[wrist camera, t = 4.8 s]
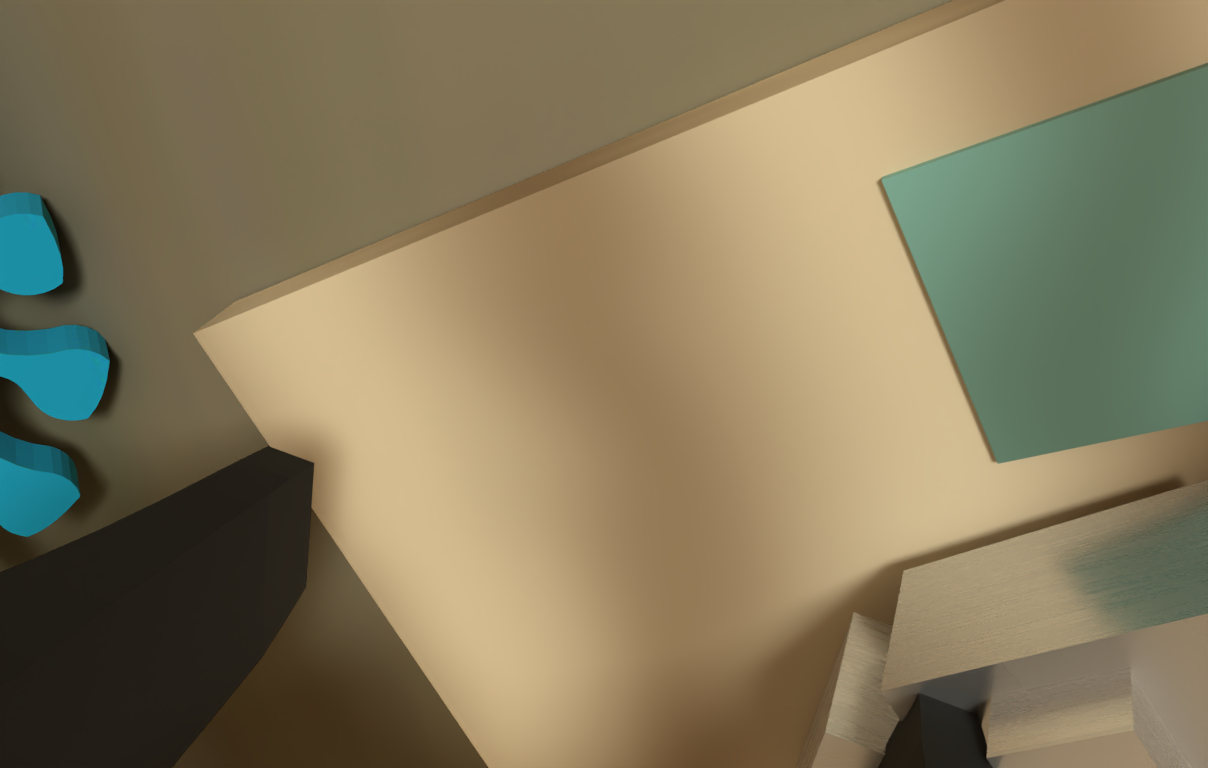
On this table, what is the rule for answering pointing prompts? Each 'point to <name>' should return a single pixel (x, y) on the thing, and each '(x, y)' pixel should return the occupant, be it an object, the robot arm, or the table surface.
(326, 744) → the table surface
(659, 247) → the beige square board
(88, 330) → the gear
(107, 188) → the table surface
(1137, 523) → the faceted metal ring
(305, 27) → the table surface
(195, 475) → the table surface
